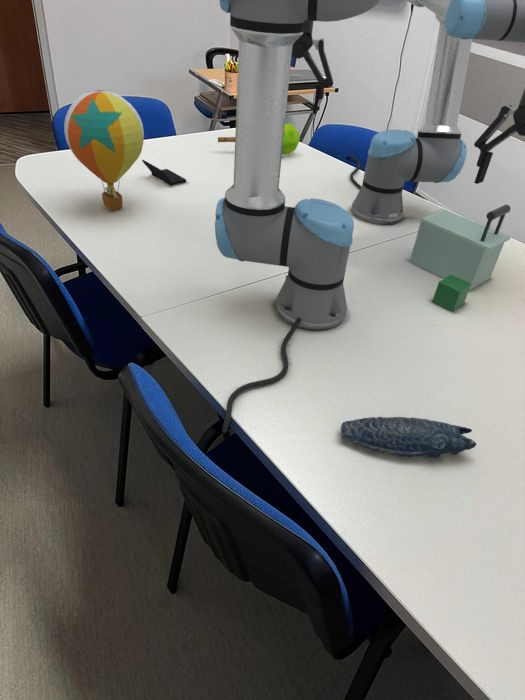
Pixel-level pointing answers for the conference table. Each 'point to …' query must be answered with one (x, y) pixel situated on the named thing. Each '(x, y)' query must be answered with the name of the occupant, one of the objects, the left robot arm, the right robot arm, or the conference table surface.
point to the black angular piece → (165, 175)
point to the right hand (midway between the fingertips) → (506, 192)
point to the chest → (453, 256)
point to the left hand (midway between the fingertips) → (288, 109)
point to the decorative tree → (289, 139)
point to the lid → (471, 227)
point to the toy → (105, 138)
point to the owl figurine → (407, 436)
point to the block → (451, 292)
